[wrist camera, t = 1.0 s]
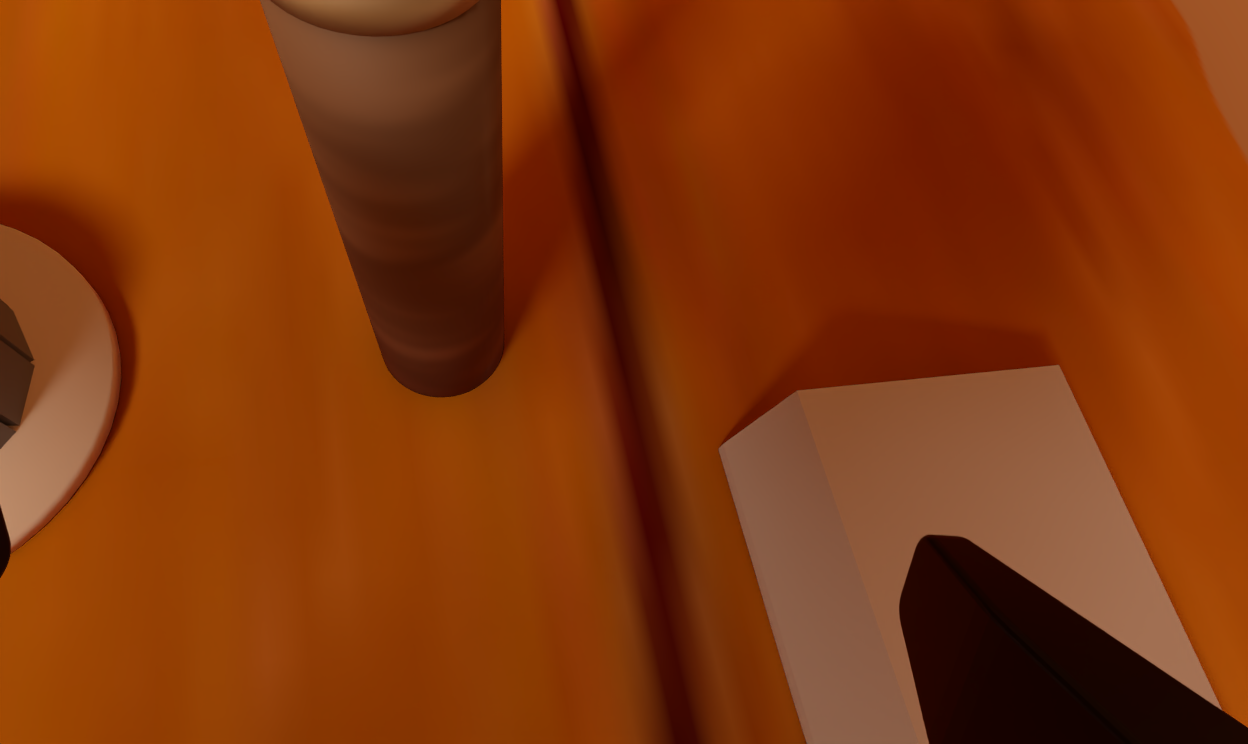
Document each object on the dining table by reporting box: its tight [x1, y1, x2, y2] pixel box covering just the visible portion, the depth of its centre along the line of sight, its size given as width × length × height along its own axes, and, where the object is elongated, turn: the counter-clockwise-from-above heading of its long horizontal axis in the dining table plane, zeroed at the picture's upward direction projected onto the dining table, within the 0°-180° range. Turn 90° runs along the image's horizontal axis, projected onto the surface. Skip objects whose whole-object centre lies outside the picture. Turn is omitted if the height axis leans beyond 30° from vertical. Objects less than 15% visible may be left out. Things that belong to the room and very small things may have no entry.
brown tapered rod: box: [260, 0, 504, 397], centre depth 18 cm, size 4×4×15 cm
